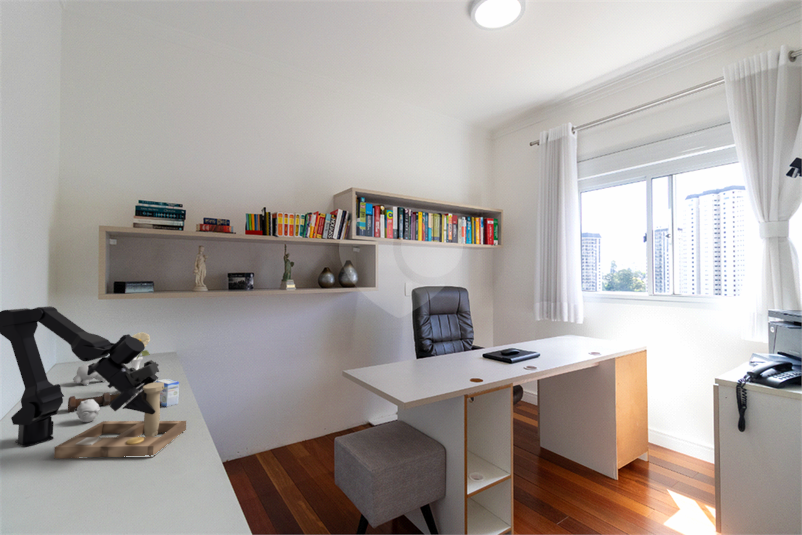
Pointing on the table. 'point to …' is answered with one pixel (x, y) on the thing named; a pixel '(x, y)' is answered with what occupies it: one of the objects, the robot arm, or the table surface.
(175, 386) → the medicine box
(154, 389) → the handle
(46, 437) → the robot arm
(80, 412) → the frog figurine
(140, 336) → the flower in vase
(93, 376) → the chubby cartoon animal
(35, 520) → the table surface
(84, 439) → the socket board
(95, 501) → the table surface
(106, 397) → the bolt
